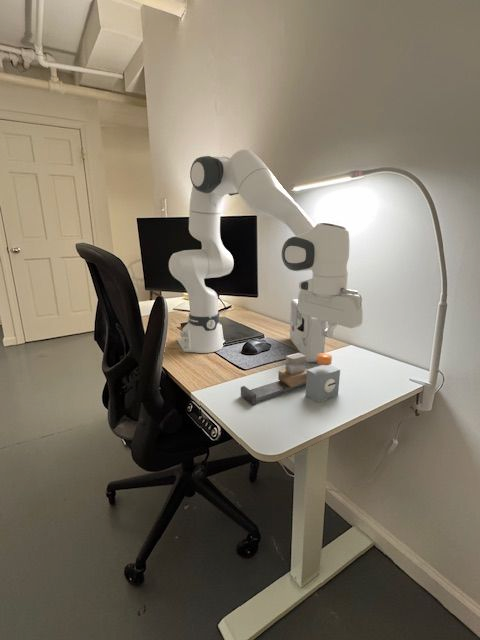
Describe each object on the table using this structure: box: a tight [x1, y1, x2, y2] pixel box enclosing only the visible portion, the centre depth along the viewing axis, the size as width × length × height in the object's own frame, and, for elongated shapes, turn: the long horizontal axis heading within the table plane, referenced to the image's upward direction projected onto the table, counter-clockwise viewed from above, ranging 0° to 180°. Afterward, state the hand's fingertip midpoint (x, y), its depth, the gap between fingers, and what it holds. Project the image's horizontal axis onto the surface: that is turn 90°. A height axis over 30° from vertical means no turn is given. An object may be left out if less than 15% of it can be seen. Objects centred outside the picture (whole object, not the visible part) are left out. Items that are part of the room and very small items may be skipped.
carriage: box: [277, 352, 309, 387], centre depth 100 cm, size 6×8×8 cm
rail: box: [240, 380, 306, 406], centre depth 98 cm, size 6×24×3 cm, turn 122°
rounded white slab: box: [289, 298, 327, 363], centre depth 128 cm, size 29×8×18 cm, turn 6°
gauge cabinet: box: [305, 364, 341, 403], centre depth 94 cm, size 6×8×8 cm
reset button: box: [316, 352, 333, 366], centre depth 92 cm, size 4×4×2 cm
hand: (326, 335), depth 90 cm, fingers closed
